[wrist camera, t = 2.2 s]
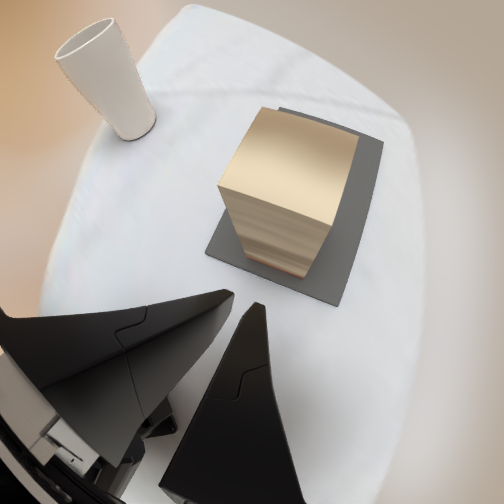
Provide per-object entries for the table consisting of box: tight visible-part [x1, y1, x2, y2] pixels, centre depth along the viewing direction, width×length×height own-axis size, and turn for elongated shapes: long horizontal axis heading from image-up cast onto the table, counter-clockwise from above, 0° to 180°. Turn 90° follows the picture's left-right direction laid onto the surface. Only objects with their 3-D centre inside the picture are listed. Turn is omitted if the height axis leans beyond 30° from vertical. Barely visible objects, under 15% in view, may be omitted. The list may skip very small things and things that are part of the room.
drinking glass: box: [55, 18, 156, 140], centre depth 22 cm, size 7×7×15 cm
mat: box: [205, 107, 384, 307], centre depth 24 cm, size 18×12×1 cm, turn 157°
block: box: [217, 107, 359, 279], centre depth 17 cm, size 5×5×12 cm
